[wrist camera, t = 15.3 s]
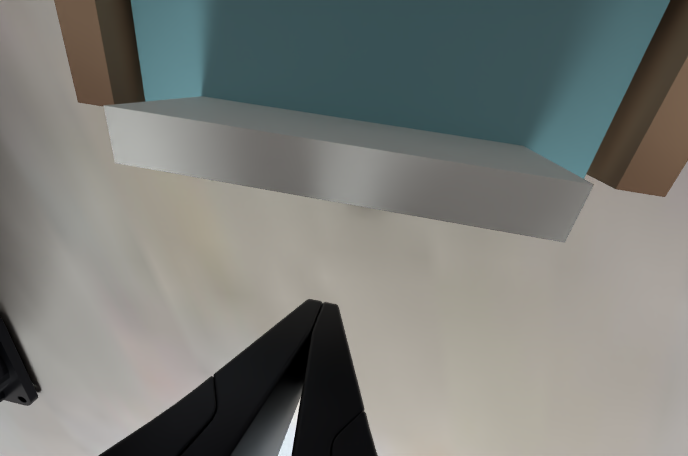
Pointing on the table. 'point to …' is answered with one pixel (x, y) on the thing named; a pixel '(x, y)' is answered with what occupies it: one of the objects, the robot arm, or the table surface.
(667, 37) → the dock
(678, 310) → the table surface
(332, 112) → the tray
